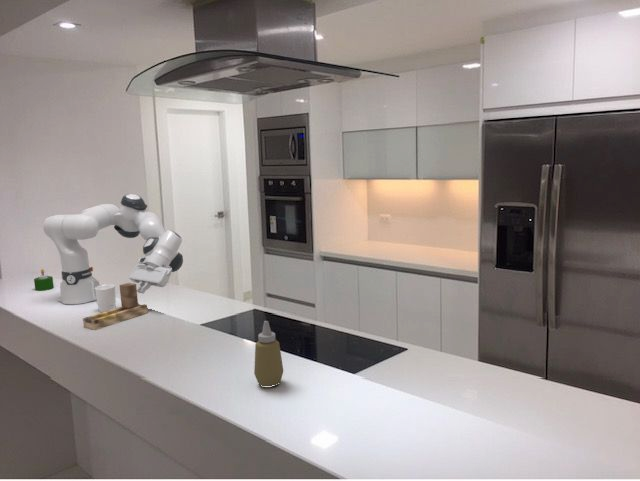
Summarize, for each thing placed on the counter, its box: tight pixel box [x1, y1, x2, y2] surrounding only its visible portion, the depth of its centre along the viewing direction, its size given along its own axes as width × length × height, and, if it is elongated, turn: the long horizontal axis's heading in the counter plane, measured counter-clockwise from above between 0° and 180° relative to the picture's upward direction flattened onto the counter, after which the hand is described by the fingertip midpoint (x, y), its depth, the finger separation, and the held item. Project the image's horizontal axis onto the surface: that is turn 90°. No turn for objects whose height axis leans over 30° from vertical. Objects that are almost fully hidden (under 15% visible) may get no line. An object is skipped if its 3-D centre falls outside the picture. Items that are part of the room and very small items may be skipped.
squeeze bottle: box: [253, 320, 284, 386], centre depth 149 cm, size 8×8×18 cm
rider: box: [119, 282, 139, 310], centre depth 219 cm, size 4×4×10 cm
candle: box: [33, 268, 55, 292], centre depth 270 cm, size 8×8×10 cm
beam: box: [82, 302, 149, 331], centre depth 215 cm, size 24×7×4 cm, turn 145°
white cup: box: [95, 284, 117, 313], centre depth 229 cm, size 8×8×10 cm
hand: (139, 292), depth 223 cm, fingers closed
